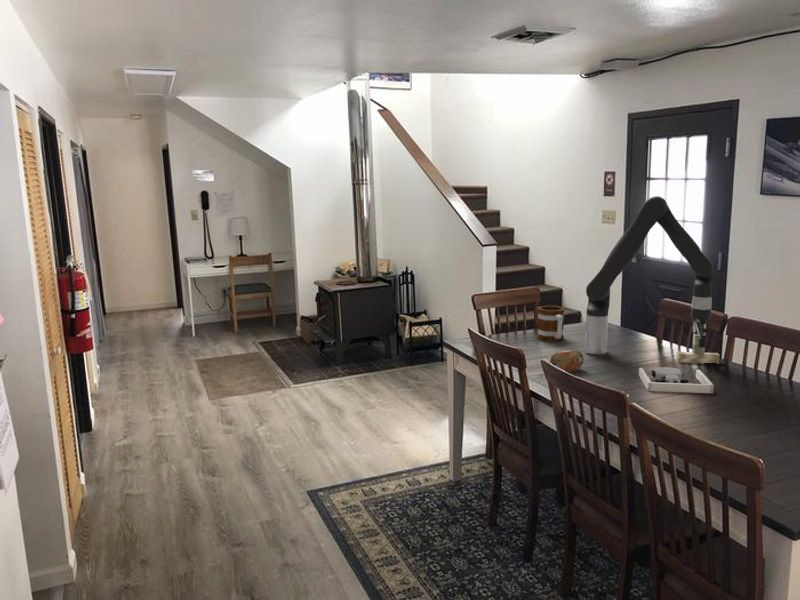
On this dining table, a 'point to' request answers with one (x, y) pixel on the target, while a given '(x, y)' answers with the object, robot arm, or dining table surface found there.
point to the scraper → (697, 354)
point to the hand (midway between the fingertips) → (698, 344)
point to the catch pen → (678, 384)
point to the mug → (550, 323)
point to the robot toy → (668, 375)
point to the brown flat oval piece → (567, 360)
